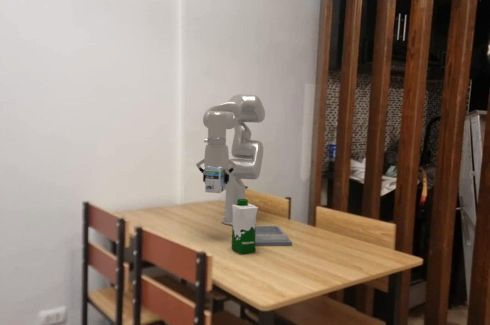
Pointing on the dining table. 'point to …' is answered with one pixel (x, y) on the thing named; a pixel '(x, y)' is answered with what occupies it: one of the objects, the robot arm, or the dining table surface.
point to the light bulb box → (215, 179)
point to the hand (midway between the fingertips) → (215, 183)
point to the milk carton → (244, 227)
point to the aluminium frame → (273, 237)
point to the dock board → (272, 243)
